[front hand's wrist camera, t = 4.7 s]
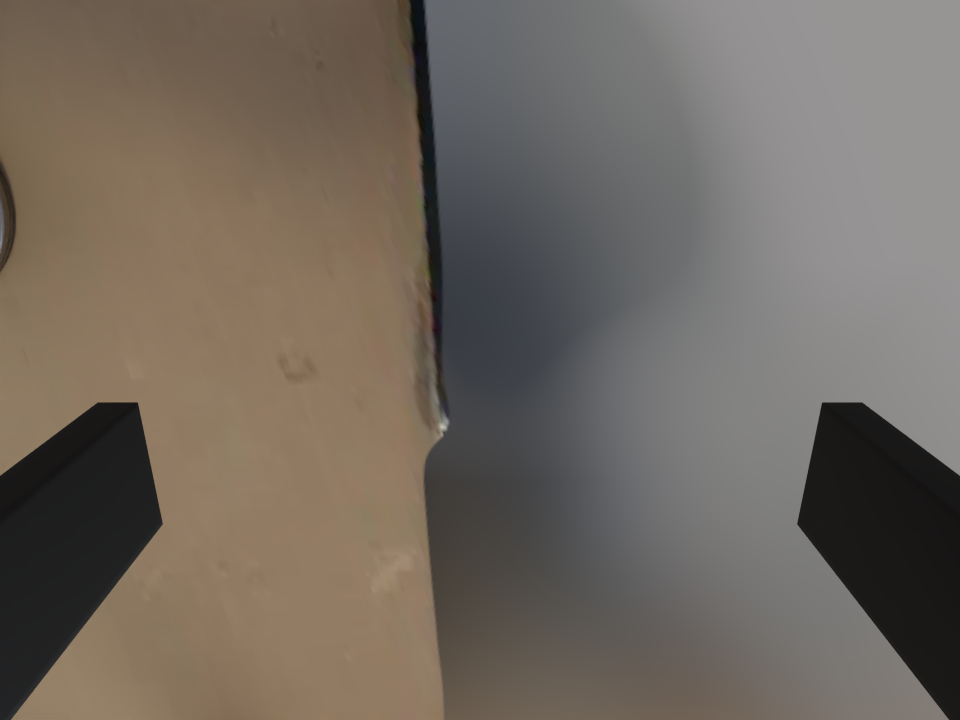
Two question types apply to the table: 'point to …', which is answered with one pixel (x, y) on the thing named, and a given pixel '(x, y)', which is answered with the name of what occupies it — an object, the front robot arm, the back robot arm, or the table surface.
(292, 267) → the table surface
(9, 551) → the front robot arm
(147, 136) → the table surface
